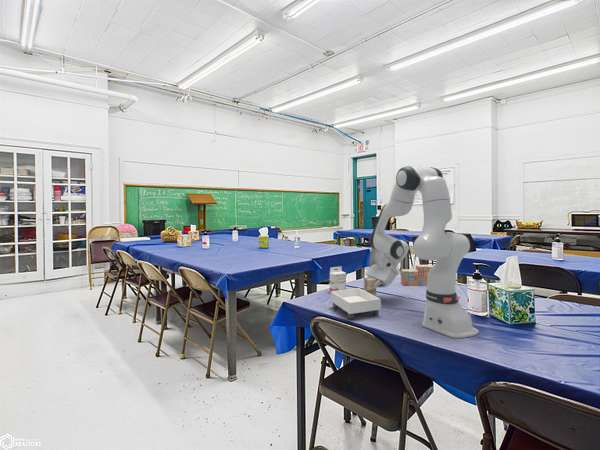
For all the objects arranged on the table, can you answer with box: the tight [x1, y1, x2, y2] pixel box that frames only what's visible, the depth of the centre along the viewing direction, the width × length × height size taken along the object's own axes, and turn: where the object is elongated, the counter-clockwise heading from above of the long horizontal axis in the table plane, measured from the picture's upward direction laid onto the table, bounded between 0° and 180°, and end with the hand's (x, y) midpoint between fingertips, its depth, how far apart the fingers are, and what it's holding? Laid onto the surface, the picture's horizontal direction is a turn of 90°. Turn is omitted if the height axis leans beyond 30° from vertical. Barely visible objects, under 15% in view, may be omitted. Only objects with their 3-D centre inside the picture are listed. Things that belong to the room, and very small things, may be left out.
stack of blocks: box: [400, 264, 435, 287], centre depth 205 cm, size 21×6×12 cm, turn 85°
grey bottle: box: [368, 246, 386, 286], centre depth 205 cm, size 10×10×28 cm
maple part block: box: [363, 277, 377, 297], centre depth 173 cm, size 4×4×10 cm
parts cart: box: [330, 287, 382, 320], centre depth 158 cm, size 20×16×8 cm
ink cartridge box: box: [329, 265, 347, 293], centre depth 191 cm, size 9×5×15 cm, turn 115°
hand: (370, 286), depth 173 cm, fingers closed on maple part block, 4 cm apart
